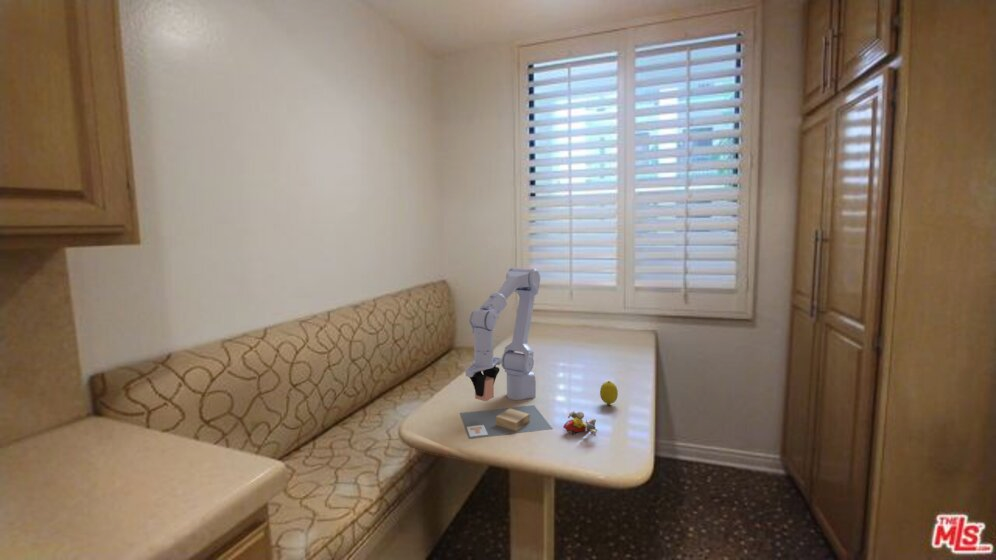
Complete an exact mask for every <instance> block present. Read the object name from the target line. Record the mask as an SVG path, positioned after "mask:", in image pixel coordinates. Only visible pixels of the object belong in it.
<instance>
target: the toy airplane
mask: <svg viewBox="0 0 996 560" xmlns="http://www.w3.org/2000/svg"><path fill="white" fill-rule="evenodd" d="M571 417H572V419H570V418H571ZM584 417H585V413H584V412H583V411H581V410H579V411H578V412H576V411H575V410H573V411H571V412H569V413H568V418H567V419H569V420H567V421H566V422H565V424H564V425H563V429H565V430H566V432H568V433H569V434H570V435H571V436H576V435H577V433H581V432H583V431H585V432H587V431H590V432H591V433H593V434H597V432H598V430H599V429H598V428H596V421H597V419H596V418H592V419H590V420H589V421H588V420H587V419H586V421H585V420H583V419H584Z"/></svg>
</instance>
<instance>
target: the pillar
mask: <svg viewBox="0 0 996 560" xmlns="http://www.w3.org/2000/svg"><path fill="white" fill-rule="evenodd" d="M494 385H495V382H494V378H491V377H486V379H485V383H484V393H483V396H482V397H481V396H477V395H476V392H475V391H474V398H475V399H476V400H479V401H483V402H488V401H490V400H491V399H493V398H494V397H495V391H494V389H495V387H494Z"/></svg>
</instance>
